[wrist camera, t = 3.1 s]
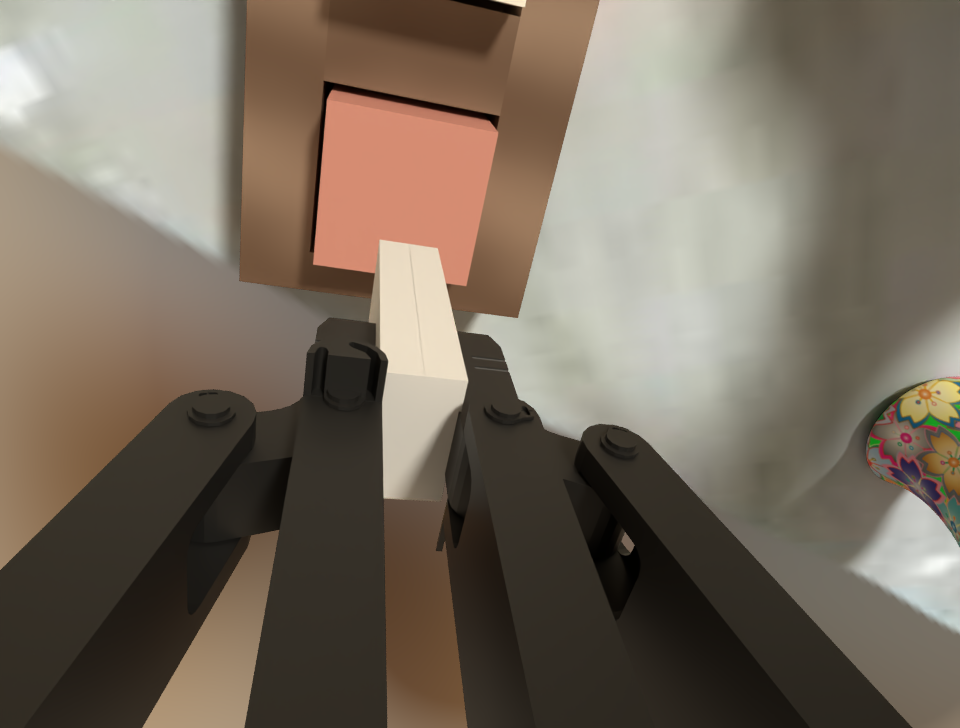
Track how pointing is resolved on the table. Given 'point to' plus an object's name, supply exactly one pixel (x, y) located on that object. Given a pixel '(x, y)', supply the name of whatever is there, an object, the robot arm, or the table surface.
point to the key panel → (415, 75)
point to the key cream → (512, 2)
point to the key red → (401, 179)
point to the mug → (922, 447)
